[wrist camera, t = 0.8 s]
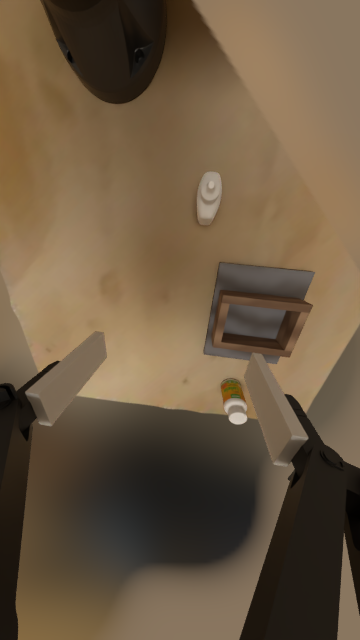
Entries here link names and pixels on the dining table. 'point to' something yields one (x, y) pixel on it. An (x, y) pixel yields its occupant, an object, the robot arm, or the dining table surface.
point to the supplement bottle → (234, 401)
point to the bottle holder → (257, 311)
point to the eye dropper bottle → (208, 197)
